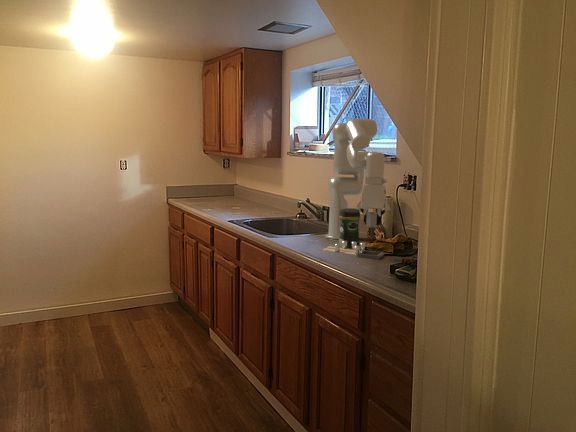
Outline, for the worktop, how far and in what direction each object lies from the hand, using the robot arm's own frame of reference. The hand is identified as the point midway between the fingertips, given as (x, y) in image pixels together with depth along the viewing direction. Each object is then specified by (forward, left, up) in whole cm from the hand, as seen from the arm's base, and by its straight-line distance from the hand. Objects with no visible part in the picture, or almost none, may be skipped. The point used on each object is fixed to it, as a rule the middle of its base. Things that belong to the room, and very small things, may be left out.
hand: (372, 224), depth 224 cm
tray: (0, 0, -15) cm, 15 cm away
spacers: (-7, -11, -14) cm, 19 cm away
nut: (0, 0, -1) cm, 1 cm away
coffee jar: (-18, -15, -15) cm, 27 cm away
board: (-7, -14, -15) cm, 21 cm away
